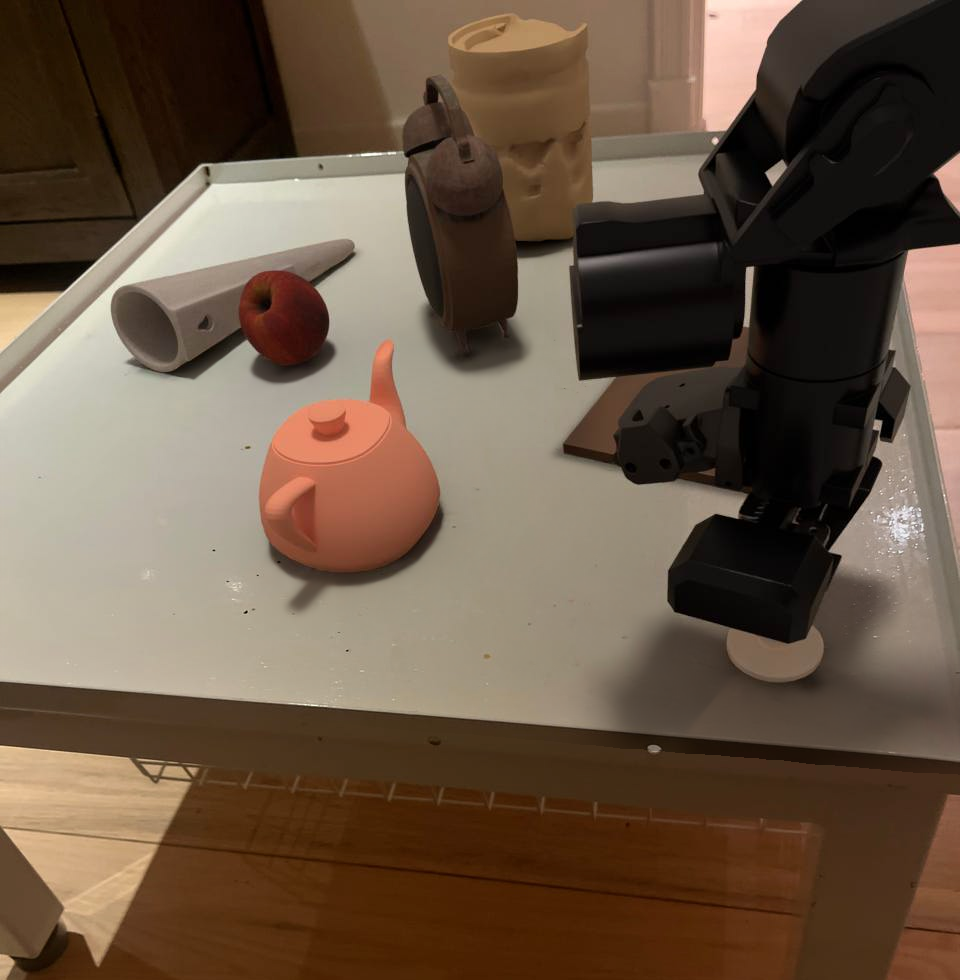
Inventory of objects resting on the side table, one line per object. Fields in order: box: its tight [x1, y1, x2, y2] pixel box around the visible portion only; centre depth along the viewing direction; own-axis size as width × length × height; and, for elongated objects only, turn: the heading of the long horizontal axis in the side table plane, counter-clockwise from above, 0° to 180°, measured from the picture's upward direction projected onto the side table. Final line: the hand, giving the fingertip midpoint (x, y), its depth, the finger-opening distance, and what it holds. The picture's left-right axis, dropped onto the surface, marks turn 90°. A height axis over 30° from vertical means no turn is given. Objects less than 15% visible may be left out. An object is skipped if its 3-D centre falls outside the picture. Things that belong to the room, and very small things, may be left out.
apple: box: [239, 270, 330, 366], centre depth 83 cm, size 7×8×8 cm
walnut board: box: [562, 325, 751, 494], centre depth 73 cm, size 14×20×1 cm
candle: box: [726, 508, 825, 683], centre depth 50 cm, size 5×5×10 cm
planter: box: [110, 238, 356, 373], centre depth 93 cm, size 8×9×26 cm
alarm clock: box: [401, 74, 519, 357], centre depth 78 cm, size 15×7×20 cm, turn 15°
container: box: [447, 12, 594, 242], centre depth 92 cm, size 13×13×18 cm
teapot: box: [258, 339, 441, 573], centre depth 65 cm, size 12×18×10 cm
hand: (779, 609), depth 52 cm, fingers closed on candle, 4 cm apart
